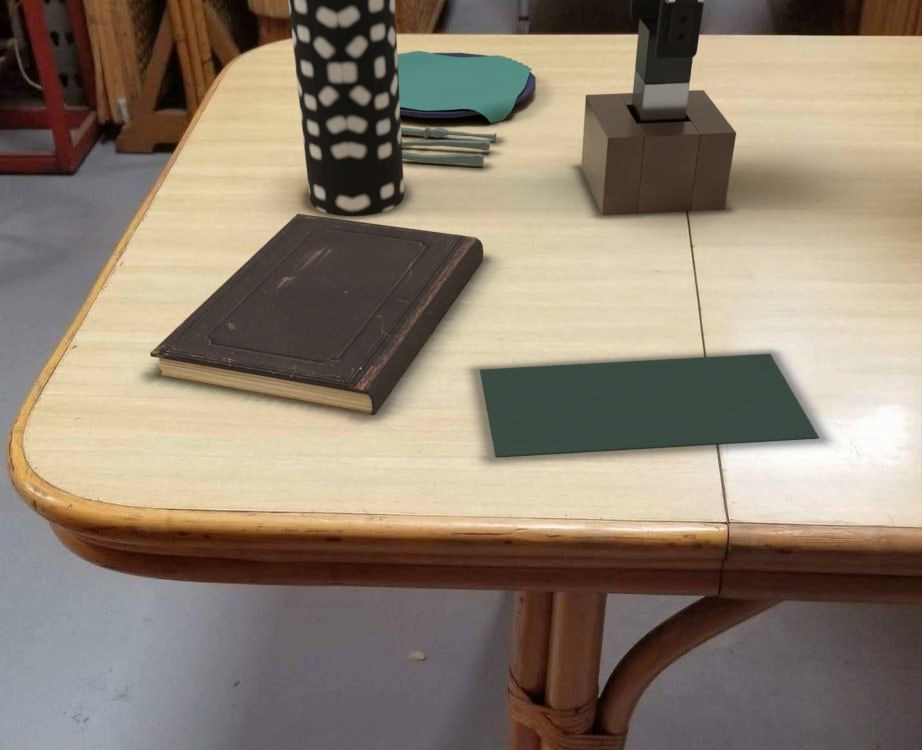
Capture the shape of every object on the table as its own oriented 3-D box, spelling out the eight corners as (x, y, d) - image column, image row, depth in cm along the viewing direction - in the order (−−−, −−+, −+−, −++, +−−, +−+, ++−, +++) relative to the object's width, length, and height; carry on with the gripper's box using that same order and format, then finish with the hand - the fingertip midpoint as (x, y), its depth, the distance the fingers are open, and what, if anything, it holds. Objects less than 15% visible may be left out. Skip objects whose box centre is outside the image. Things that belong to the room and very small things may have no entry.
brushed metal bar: (665, 183, 97) (685, 16, 88) (675, 200, 94) (696, 30, 85) (624, 185, 97) (639, 18, 87) (632, 202, 94) (649, 31, 85)
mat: (768, 360, 74) (770, 353, 73) (817, 444, 66) (819, 436, 66) (479, 376, 73) (479, 369, 72) (495, 464, 65) (495, 455, 65)
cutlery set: (548, 75, 120) (549, 53, 119) (502, 178, 98) (502, 153, 97) (377, 65, 124) (376, 44, 122) (295, 163, 101) (292, 139, 100)
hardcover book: (156, 381, 72) (149, 352, 71) (300, 239, 89) (297, 213, 87) (375, 421, 69) (373, 391, 67) (483, 265, 85) (483, 237, 83)
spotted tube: (291, 202, 95) (260, -52, 82) (362, 175, 99) (343, -69, 86) (352, 230, 90) (330, -34, 77) (423, 200, 95) (414, -54, 82)
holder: (693, 167, 100) (703, 89, 95) (723, 215, 92) (736, 132, 87) (580, 172, 99) (585, 94, 94) (601, 220, 91) (608, 138, 86)
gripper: (781, -205, 69) (735, 71, 81) (712, -234, 82) (681, 7, 94) (667, -204, 69) (637, 73, 80) (616, -234, 82) (596, 9, 93)
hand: (661, 37), depth 87 cm, fingers open, 9 cm apart
